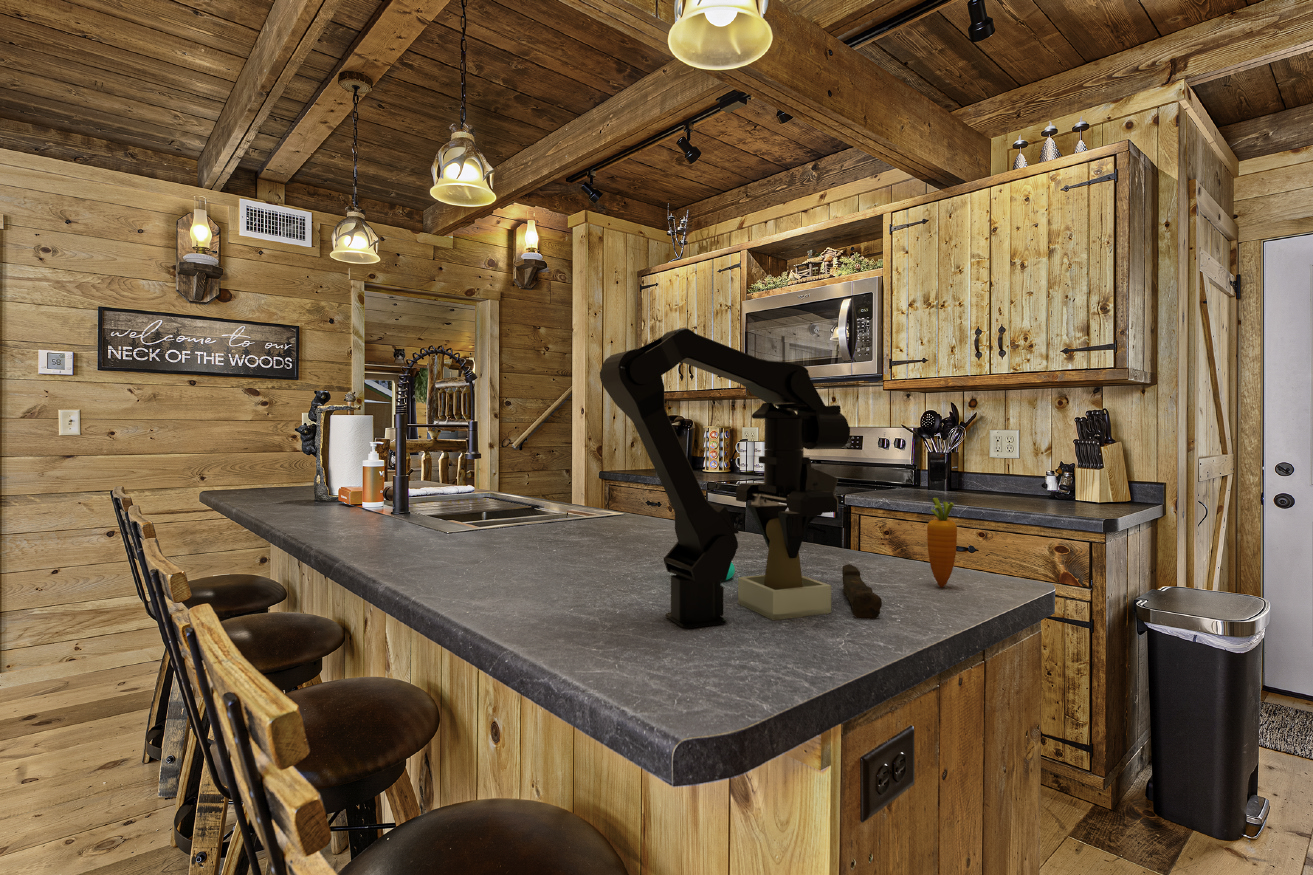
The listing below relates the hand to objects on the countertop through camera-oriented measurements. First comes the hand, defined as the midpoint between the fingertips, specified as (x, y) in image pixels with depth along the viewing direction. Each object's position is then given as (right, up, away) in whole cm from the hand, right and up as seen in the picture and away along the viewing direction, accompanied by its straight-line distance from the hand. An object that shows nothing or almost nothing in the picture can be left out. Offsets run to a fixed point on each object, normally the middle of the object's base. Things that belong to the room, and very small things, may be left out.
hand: (783, 555), depth 101 cm
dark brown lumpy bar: (+11, -8, +4) cm, 15 cm away
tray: (0, -8, 0) cm, 8 cm away
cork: (0, -6, 0) cm, 6 cm away
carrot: (+29, -8, +13) cm, 33 cm away
